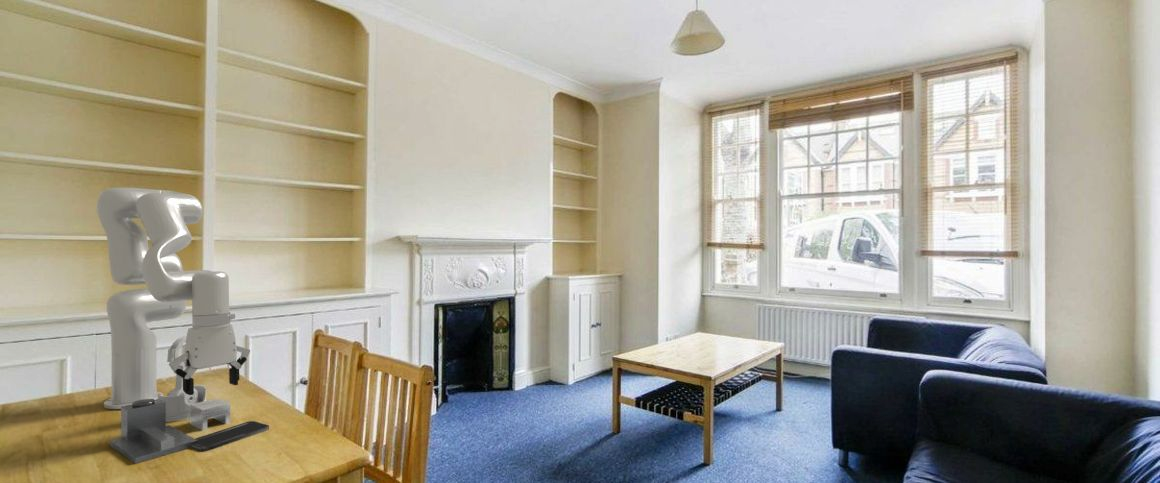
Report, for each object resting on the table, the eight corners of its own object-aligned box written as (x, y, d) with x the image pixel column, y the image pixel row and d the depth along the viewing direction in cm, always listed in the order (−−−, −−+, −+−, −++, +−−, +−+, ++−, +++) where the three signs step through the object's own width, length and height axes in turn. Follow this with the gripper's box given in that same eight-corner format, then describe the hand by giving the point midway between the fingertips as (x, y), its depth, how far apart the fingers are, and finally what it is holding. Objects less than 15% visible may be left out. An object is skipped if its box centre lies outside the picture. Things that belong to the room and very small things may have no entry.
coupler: (109, 445, 114) (109, 406, 114) (169, 430, 124) (169, 393, 124) (135, 463, 106) (135, 421, 106) (197, 445, 115) (197, 406, 115)
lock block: (202, 430, 124) (202, 410, 124) (189, 424, 128) (189, 404, 128) (230, 422, 129) (230, 403, 129) (217, 417, 133) (217, 397, 133)
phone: (184, 442, 115) (251, 420, 129) (184, 447, 115) (251, 424, 129) (204, 449, 112) (271, 425, 125) (204, 454, 112) (271, 430, 125)
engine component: (147, 419, 130) (179, 423, 128) (147, 340, 130) (179, 342, 128) (188, 405, 141) (218, 408, 139) (188, 332, 141) (218, 333, 139)
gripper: (241, 315, 137) (242, 379, 137) (162, 324, 123) (163, 395, 123) (255, 317, 133) (256, 382, 133) (175, 327, 119) (176, 400, 119)
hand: (212, 389), depth 128 cm, fingers open, 9 cm apart
